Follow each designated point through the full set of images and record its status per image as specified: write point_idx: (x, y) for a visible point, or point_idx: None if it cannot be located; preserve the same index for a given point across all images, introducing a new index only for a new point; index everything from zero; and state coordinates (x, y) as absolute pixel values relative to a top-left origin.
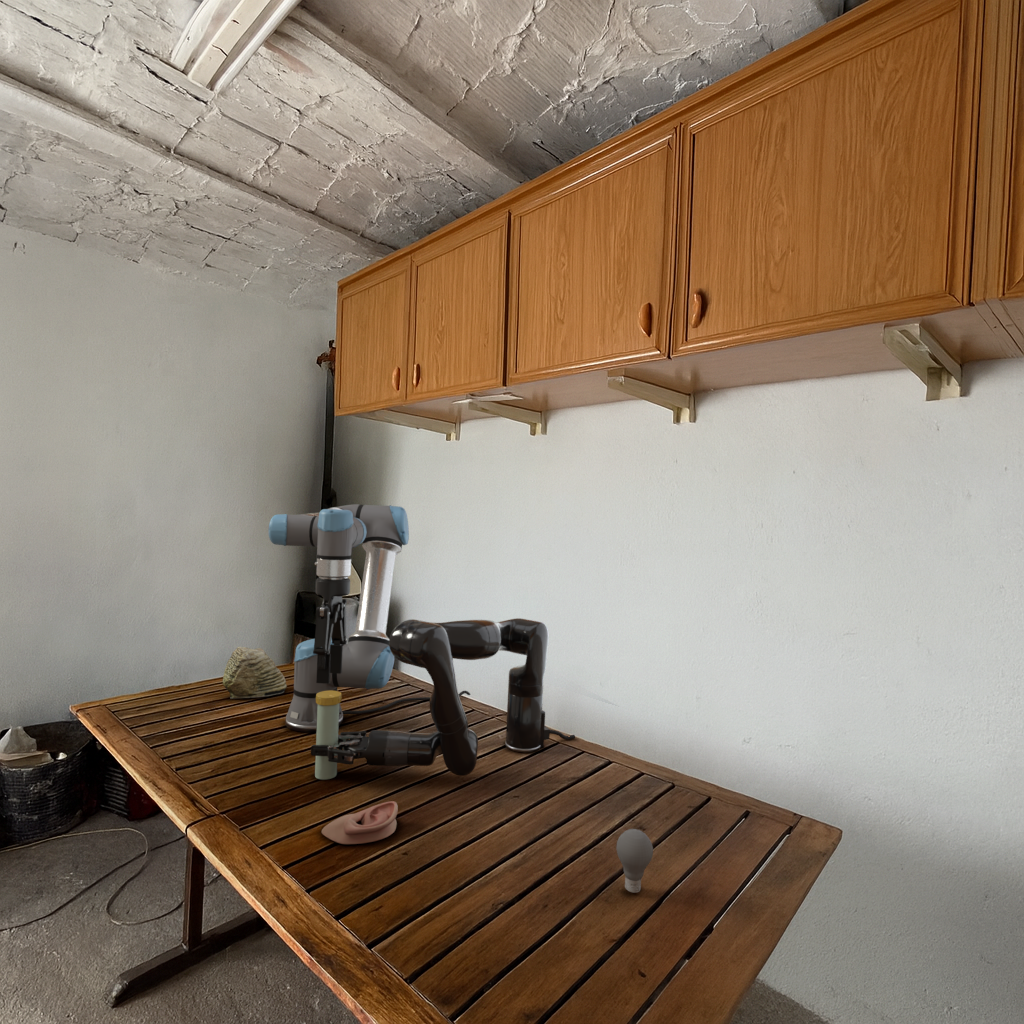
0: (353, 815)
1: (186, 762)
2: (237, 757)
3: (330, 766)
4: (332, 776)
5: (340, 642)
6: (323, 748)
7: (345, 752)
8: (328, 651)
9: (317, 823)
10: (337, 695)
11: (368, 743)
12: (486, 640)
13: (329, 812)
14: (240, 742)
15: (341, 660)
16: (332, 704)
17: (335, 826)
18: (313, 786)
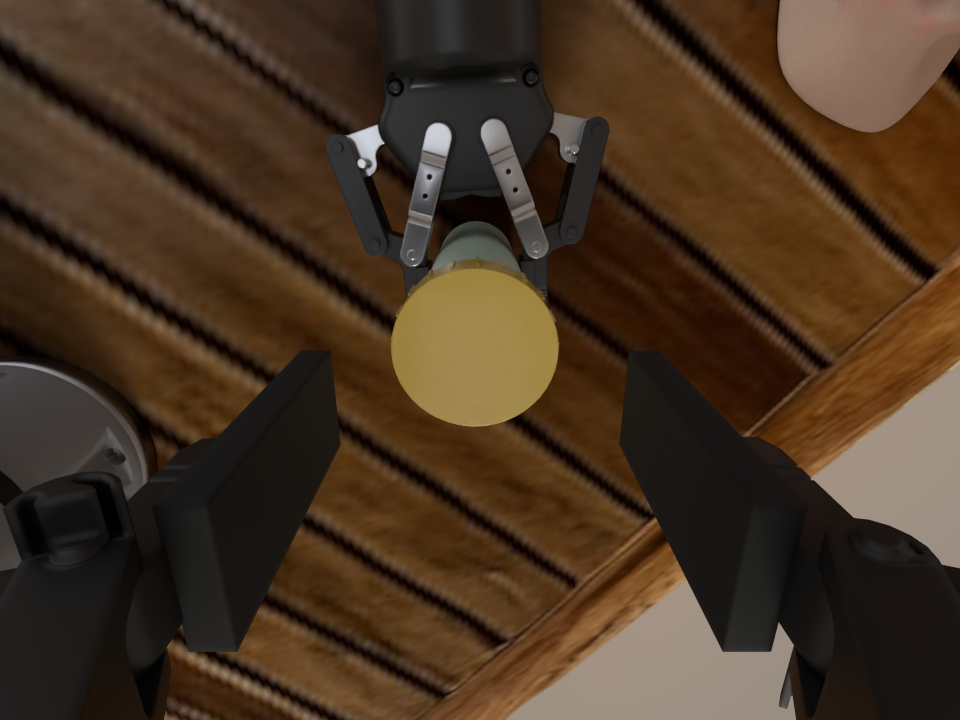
0: (899, 16)
1: (456, 643)
2: (400, 551)
3: (505, 239)
4: (496, 228)
5: (136, 567)
6: (537, 275)
7: (597, 157)
8: (904, 545)
9: (810, 166)
10: (495, 286)
11: (530, 56)
12: None
13: (741, 152)
14: (296, 586)
15: (276, 400)
16: (541, 291)
17: (914, 76)
18: (563, 268)
